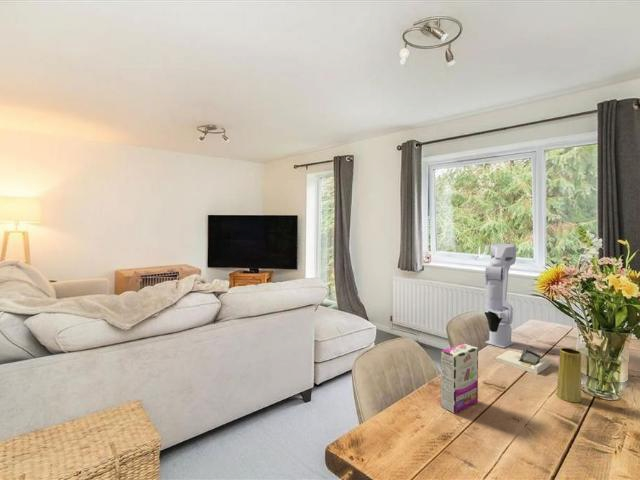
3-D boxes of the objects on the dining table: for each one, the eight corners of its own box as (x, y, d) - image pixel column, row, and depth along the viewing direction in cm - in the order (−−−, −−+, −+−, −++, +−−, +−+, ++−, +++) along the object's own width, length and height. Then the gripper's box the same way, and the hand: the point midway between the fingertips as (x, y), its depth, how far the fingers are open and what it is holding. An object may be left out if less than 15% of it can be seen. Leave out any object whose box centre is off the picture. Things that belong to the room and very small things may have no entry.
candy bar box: (462, 395, 103) (463, 342, 102) (478, 403, 99) (479, 347, 98) (439, 406, 97) (440, 350, 96) (454, 414, 92) (455, 355, 92)
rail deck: (509, 353, 136) (509, 347, 136) (549, 365, 125) (550, 358, 125) (495, 361, 129) (495, 354, 128) (537, 374, 118) (537, 367, 117)
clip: (523, 357, 129) (528, 346, 127) (537, 364, 125) (542, 353, 124) (519, 359, 126) (524, 348, 125) (533, 368, 123) (538, 356, 121)
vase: (572, 392, 105) (574, 347, 104) (586, 403, 99) (588, 355, 98) (551, 391, 105) (553, 346, 105) (564, 402, 99) (565, 354, 98)
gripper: (514, 301, 125) (513, 337, 125) (496, 293, 139) (495, 326, 140) (494, 301, 125) (493, 337, 126) (479, 293, 140) (478, 325, 140)
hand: (493, 331), depth 133 cm, fingers closed
